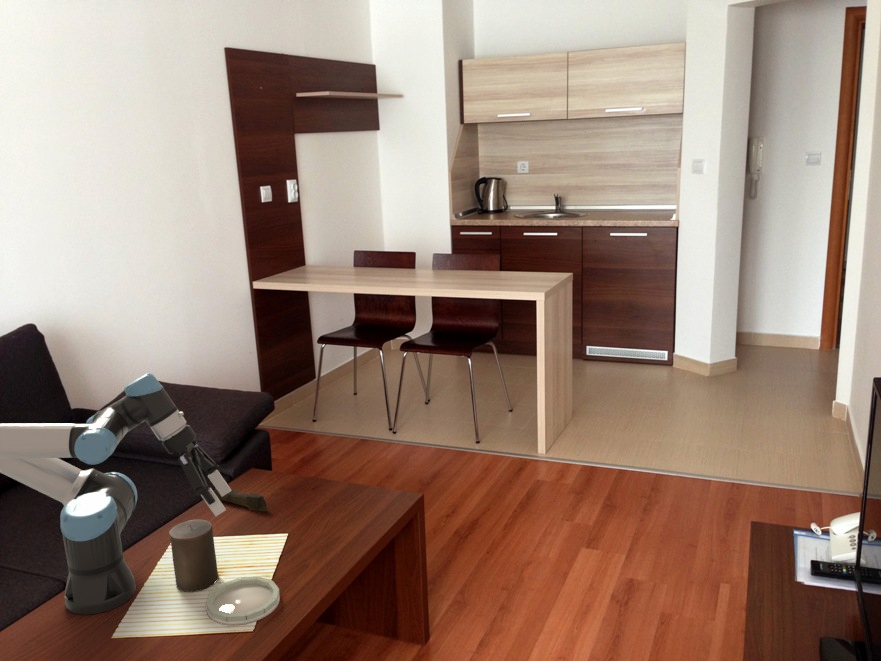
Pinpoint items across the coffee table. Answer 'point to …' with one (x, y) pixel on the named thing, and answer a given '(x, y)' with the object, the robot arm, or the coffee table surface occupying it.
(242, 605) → the candle plate
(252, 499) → the dark brown bark log
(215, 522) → the coffee table surface
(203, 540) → the pillar candle
